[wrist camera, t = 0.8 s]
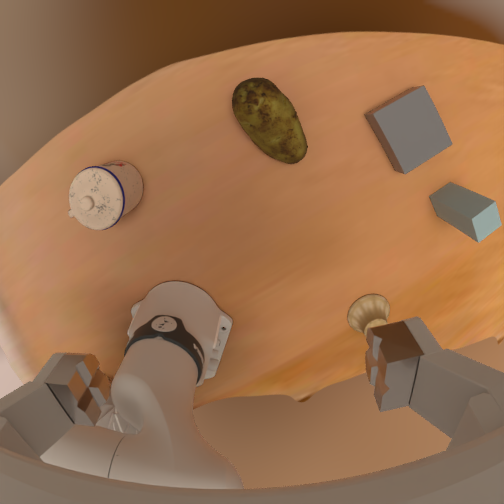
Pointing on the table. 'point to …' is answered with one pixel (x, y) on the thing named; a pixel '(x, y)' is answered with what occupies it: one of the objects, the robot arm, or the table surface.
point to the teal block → (466, 211)
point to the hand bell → (368, 312)
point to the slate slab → (409, 129)
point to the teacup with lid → (104, 194)
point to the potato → (269, 120)
